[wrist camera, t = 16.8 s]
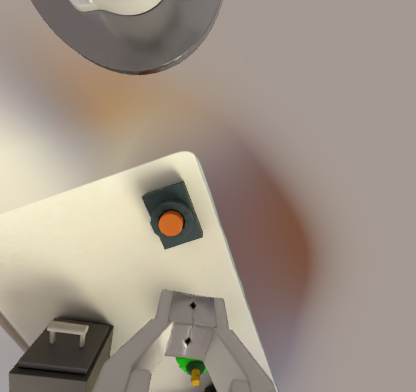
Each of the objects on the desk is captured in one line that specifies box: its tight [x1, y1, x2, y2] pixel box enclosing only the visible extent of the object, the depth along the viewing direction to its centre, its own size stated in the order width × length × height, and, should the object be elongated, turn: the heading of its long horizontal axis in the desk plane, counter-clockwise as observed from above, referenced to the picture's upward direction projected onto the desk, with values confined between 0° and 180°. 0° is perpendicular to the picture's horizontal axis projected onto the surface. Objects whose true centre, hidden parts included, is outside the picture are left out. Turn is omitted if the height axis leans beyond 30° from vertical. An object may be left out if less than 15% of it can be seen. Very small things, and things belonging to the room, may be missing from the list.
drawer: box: [18, 318, 109, 375], centre depth 35 cm, size 17×10×8 cm, turn 167°
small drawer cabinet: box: [9, 326, 114, 392], centre depth 36 cm, size 14×12×10 cm
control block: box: [142, 181, 203, 249], centre depth 32 cm, size 10×7×4 cm
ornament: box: [176, 357, 207, 386], centre depth 35 cm, size 8×8×10 cm
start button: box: [158, 210, 183, 236], centre depth 30 cm, size 4×4×2 cm
